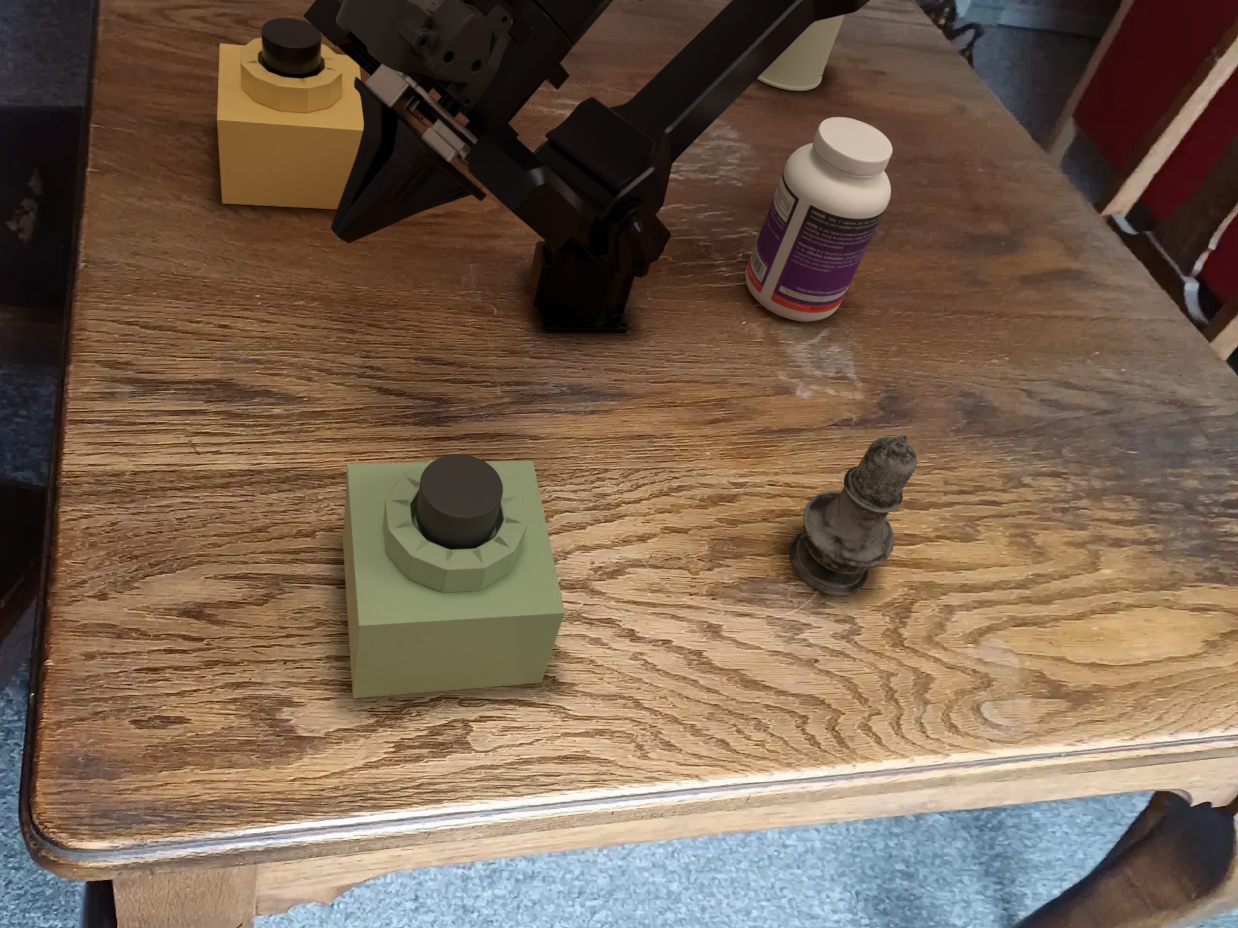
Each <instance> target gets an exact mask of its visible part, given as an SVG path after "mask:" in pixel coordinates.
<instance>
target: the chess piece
mask: <svg viewBox="0 0 1238 928" xmlns="http://www.w3.org/2000/svg"><path fill="white" fill-rule="evenodd" d="M858 463H859V464H858V465H856V466H853V467H851V468H849V469H848V470H847V471H846V473H845V474H844V477H843V488H842V489H841V490H827V491H824V492H820V493H817V494H816V495H815V496H813V497H811V498H810V499H809V501H808V502H807V504H806V505H805V507H804V510H803V514H802V517H803V518H802V520H803V525H802V526H803V529H802V530H801V531H799V532H798V533H796V535H795V536H794V537H793V538H792V539H791V542H790V545H789V548H788V553H789V554H788V555H789V557H788V558H789V560H790V564H791V567H792V568H793V570H794V572H795V573H796V574H797V576H798V577H799V578H800V579H801V580H802V581H803V582H804V583H805V584H806V585H808V586H810V587H811V588H812V589H814V590H816V591H818V592H821V593H822V594H824V595H830V596H835V597H841V596H848V595H849V596H850V595H852V594H855V593H856V592H858V591H859V590H861V589H862V588H863V586H864V585H865V584H866V582H867V581H868V576H869V570H870V569H873V568H874V567H876V566H879V565H881V564H882V563H883V562H885V561H887V560H888V559H889V557H890V555H891V554H892V553H893V551H894V546H895V536H894V531H893V527H892V526H891V524H890V521H889V520H888V519H887V516H888V514H889V513H892V512H894V511H895V510H897V509H899V508H900V506H901V505H902V502H903V498H904V497H903V490H904V487H905V486H906V485H907V483H908V482H909V480H910V478H911V477H912V475H913V474H914V473H915V471H916V468H917V464H918V459H917V455H916V452H915V450H914V449H913V447H912V446H911V445H910V444H909V439H908V436H907V435H901V436H897V437H894V436H884V437H882V436H881V437H878V438H877V439H875V440H874V441H873V442H872V443H870V445H869V447H868V448H867V450H866V451H865V453H864V455H863V457H862V458H861V460H860V462H858Z"/></svg>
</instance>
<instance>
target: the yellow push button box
mask: <svg viewBox="0 0 1238 928" xmlns="http://www.w3.org/2000/svg"><path fill="white" fill-rule="evenodd" d="M218 52H219V54H218V80H217V82H218V83H217V108H216V125H217V126H216V127H217V143H218V157H219V158H218V159H219V160H218V161H219V175H220V176H219V177H220V191H221V203H222V204H223V205H245V206H262V207H263V206H264V207H279V208H280V207H283V208H302V209H321V210H337V208H338V205H339V202H340V199H341V197H342V194H343V191H344V188H345V186H346V183H347V180H348V177H349V175H350V172H351V169H352V166H353V164H354V161H355V158H356V155H357V151H358V148H359V144H360V140H361V137H362V133H363V128H364V120H363V112H362V105H361V97H360V94H359V92H358V91H357V90H356V89H355V88H354V80H355V77H358V78H359V79H360V80H361V81H362V76H361V75H362V74H361V67H360V66H359V65H358V64H357V63H356V62H355V61H353V60H352V59H351V58H350V57H349V56H348V55H347V54H339V53H336V52H334V51H333V50H332V49H331V48H330V47H329V46H328V45H326V44H324V43H321V70H320V73H319V74H318V75H317V76H312V77H308V78H303V79H299V78H288V77H281V76H279V75H276V74H273V73H271V72H268V71H267V70H266V69H265V68H264V67H263V64H262V36H261V37H257V38H253V39H252V40H250V41H249V42H248V43H247V44H245V45H243V44H241V45H240V44H231V43H219V51H218Z"/></svg>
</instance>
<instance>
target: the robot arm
mask: <svg viewBox="0 0 1238 928" xmlns="http://www.w3.org/2000/svg"><path fill="white" fill-rule="evenodd" d="M613 1H614V0H314V2H313V3H312V4H311V5H310V6H309V7H308V9H307V10H306V11H305V13H304V14H303V15H302V16H303V18H304V19H305V20H306V21H307V22H308V23H310V24H312V25H313V26H314V27H315V28H316V29H317V30H318V31H319V32H320V33H321V35H322V36H324V37H325V38H326V39H327V40H328V41H329V42H330V43H331V44H332V45H334V47H337V48H338V49H339V50H341V52H342V53H344V55H348V56H349V57H350V58H351V59H352V60H353V61H355V62H356V63H357V64H358V65H359V66H360V69H363V71H364V72H365V73H366V74H368V75H369V78H367V80H366V81H365V82H363V81H362V79H361V80H360V79H359V78H358V77H355V80H354V88H355V89H356V90H357V91H358V92H359V94H360V97H361V105H362V112H363V120H364V128H363V133H362V137H361V140H360V144H359V148H358V151H357V155H356V158H355V161H354V164H353V166H352V169H351V172H350V175H349V177H348V180H347V183H346V186H345V188H344V191H343V194H342V197H341V199H340V202H339V205H338V208H337V209H335V210H336V211H335V213H334V216H333V219H332V222H331V225H330V230H331V232H332V233H333V234H334V235H335V236H336V237H337V238H338V239H339V240H341V241H343V242H344V243H346V244H351V243H354V242H356V241H358V240H361V239H363V238H365V237H367V236H370V235H372V234H374V233H376V232H378V231H381V230H383V229H386V228H387V227H390V226H393V225H394V224H396V223H399V222H401V221H404V220H405V219H408V218H411V217H413V216H415V215H417V214H419V213H422V212H425V211H427V210H431V209H433V208H434V209H435V208H436V207H439V206H442V205H445V204H448V203H451V202H454V201H459V200H460V199H464V198H466V197H470V196H473V197H474V198H475V199H476V200H477V201H479V202H482V201H483V200H485V198H487V197H488V194H487V193H486V192H485V191H484V190H483V189H482V188H483V187H484V188H486V190H487V191H488V192H490V193H491V194H492V195H493V196H494V197H495V198H496V199H497V200H498V201H499V202H501V203H502V205H504V206H505V207H506V208H507V209H508V210H509V211H510V212H511V213H513V214H514V215H515V216H516V217H517V218H518V219H519V220H520V221H522V222H523V223H524V224H526V226H527V227H529V228H530V229H531V230H532V231H534V232H535V234H538V236H539V237H540V238H541V239H543V240H538V241H537V242H535V243H536V244H535V248H534V254H533V258H532V263H531V268H530V272H529V278H528V282H527V283H528V284H527V286H528V290H529V293H530V298H531V303H532V306H533V307H534V308H535V309H537V314H538V317H539V321H540V325H541V328H542V330H543V331H545V332H546V333H569V334H570V333H572V334H575V333H577V334H619V335H620V334H627V333H628V331H629V329H630V322H629V320H628V316H627V313H626V307H627V304H628V301H629V297H630V293H631V291H632V287H633V284H634V280H635V278H641V279H642V278H644V277H646V276H648V274H649V271H650V267H651V264H653V263H655V262H657V261H658V260H659V259H660V257H661V256H662V254H663V253H664V251H665V248H666V246H667V244H668V243H669V240H670V239H671V236H672V233H671V231H670V230H669V229H668V228H667V227H666V226H665V224H664V223H663V222H662V221H661V220H660V219H659V217H658V216H657V214H658V213H659V212H660V210H661V209H662V208H663V206H664V203H665V199H666V194H667V189H668V186H669V181H670V176H671V172H672V168H673V164H674V163H675V162H676V161H677V159H678V158H679V157H680V156H681V155H682V154H683V153H684V152H685V151H686V150H687V149H688V148H689V147H690V146H691V145H692V144H693V143H694V142H696V140H697V139H698V138H699V137H700V136H701V135H702V134H703V133H704V132H705V131H706V130H707V129H708V128H709V127H710V126H711V125H712V124H713V123H714V122H715V121H716V120H717V119H718V118H719V117H721V115H722V114H723V113H724V112H725V111H726V110H727V109H728V108H729V107H730V106H731V105H732V104H733V103H735V101H736V100H737V99H738V98H739V97H740V96H741V95H742V94H743V93H745V91H746V90H747V89H748V88H749V87H750V86H751V85H752V84H753V83H754V82H755V81H756V80H757V78H758V77H759V76H760V75H761V74H762V73H763V72H764V71H765V70H766V69H767V68H768V67H769V66H770V65H771V64H772V63H773V62H774V61H775V60H776V59H777V58H778V57H779V56H780V55H781V54H782V53H783V52H784V51H785V50H786V49H787V48H788V47H789V46H790V45H791V44H792V43H793V42H794V41H795V40H796V39H797V38H798V37H799V36H800V35H801V34H802V33H803V32H804V31H805V30H806V29H807V28H808V27H809V26H810V25H811V24H812V23H814V22H816V21H820V20H824V19H828V18H832V17H837V16H841V15H845V16H846V15H850V14H854V13H856V12H858V11H859V10H860V9H861V8H863V7H864V6H865V5H866V4H867V3H869V2H870V1H871V0H730V1H729V2H728V3H727V4H726V5H725V6H723V7H722V9H721V10H720V11H719V12H717V14H716V15H714V16H713V18H711V20H709V21H708V22H707V24H705V25H704V26H703V27H702V28H701V29H700V30H699V31H698V32H697V33H696V34H695V35H694V36H693V37H692V38H691V39H690V40H689V41H688V42H687V43H686V44H685V45H684V46H683V47H682V48H681V49H680V50H678V51H677V52H676V54H675V55H674V56H673V57H672V58H671V59H669V61H668V62H666V63H665V64H664V66H663V67H661V68H660V69H659V70H658V71H657V72H656V73H655V74H654V75H653V76H652V77H651V78H650V79H649V80H648V81H647V82H646V83H645V84H644V85H643V86H642V87H641V88H639V90H638V91H637V92H636V93H635V94H634V95H633V96H632V97H631V98H630V99H629V100H627V101H626V102H625V103H622V104H618V105H615V106H610V107H609V106H607V105H605V104H604V103H603V102H601V101H600V100H598V99H597V98H596V97H594V96H590V97H588V98H587V99H585V100H582V101H581V102H579V103H578V105H576V107H575V108H574V109H573V110H572V111H571V113H570V114H569V115H568V116H567V117H566V118H565V120H564V121H562V122H561V123H560V124H558V125H557V126H555V128H553V129H551V130H549V131H547V132H546V133H545V138H546V140H545V141H544V142H542V143H540V145H538V146H537V148H535V150H534V151H533V150H531V149H530V148H528V147H527V146H526V145H525V144H524V143H523V142H522V141H521V140H519V138H518V137H519V136H520V133H519V132H518V131H517V130H515V128H514V127H513V126H511V124H510V122H511V121H512V120H513V119H514V118H515V116H517V114H518V113H519V112H520V111H521V109H522V108H523V107H524V105H525V104H527V102H528V101H529V100H530V99H531V98H532V96H533V95H534V94H535V93H536V92H537V90H538V89H539V88H540V87H542V85H543V84H544V83H545V81H546V82H548V84H550V86H552V87H553V88H554V89H555V90H556V91H558V90H559V89H560V88H561V87H562V86H563V84H564V83H565V82H566V81H567V80H568V79H569V77H570V76H571V75H570V74H569V73H568V71H567V70H566V69H565V67H564V66H563V65H562V64H561V63H562V61H563V60H564V59H565V58H566V56H568V55H569V53H570V52H571V51H572V50H573V48H574V47H575V46H576V45H577V44H578V43H579V41H580V40H581V39H582V38H583V36H585V34H586V33H587V32H588V31H589V29H590V28H592V26H593V25H594V24H595V23H596V22H597V21H598V19H600V17H601V16H602V14H603V13H604V12H605V11H606V10H607V9H608V7H610V5H611V4H612V3H613ZM638 1H639V2H642V1H643V0H638ZM432 90H434V91H435V92H436V93H437V94H438V95H440V98H438V100H436V99H435V98H434V97H433V96H431V95H430V93H431V91H432ZM459 114H461V115H463V117H465V118H466V119H467V120H468V122H467V123H466V124H465V125H464V124H463V123H461V122H460V121H459V120H458V119H457V118H456V117H457V116H458V115H459Z"/></svg>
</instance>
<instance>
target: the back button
mask: <svg viewBox="0 0 1238 928" xmlns="http://www.w3.org/2000/svg"><path fill="white" fill-rule="evenodd" d="M260 31H261V37H262V64H263V67H264V68H265V69H266V70H267V71H268V72H271V73H273V74H276V75H279V76H281V77H288V78H299V79H303V78H308V77H312V76H317V75H318V74H319V73H320V70H321V44H322V33H320V32H319V31H318V30H317V29H316V28H315V27H314V26H313V25H312V24H311V23H310V22H309V21H307V20H302V19H300V18H299V19H298V18H294V17H293V18H292V17H278V18H272V19H270V20H268V21H266V22H265V23H263V25H262V27H261V30H260Z"/></svg>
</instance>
